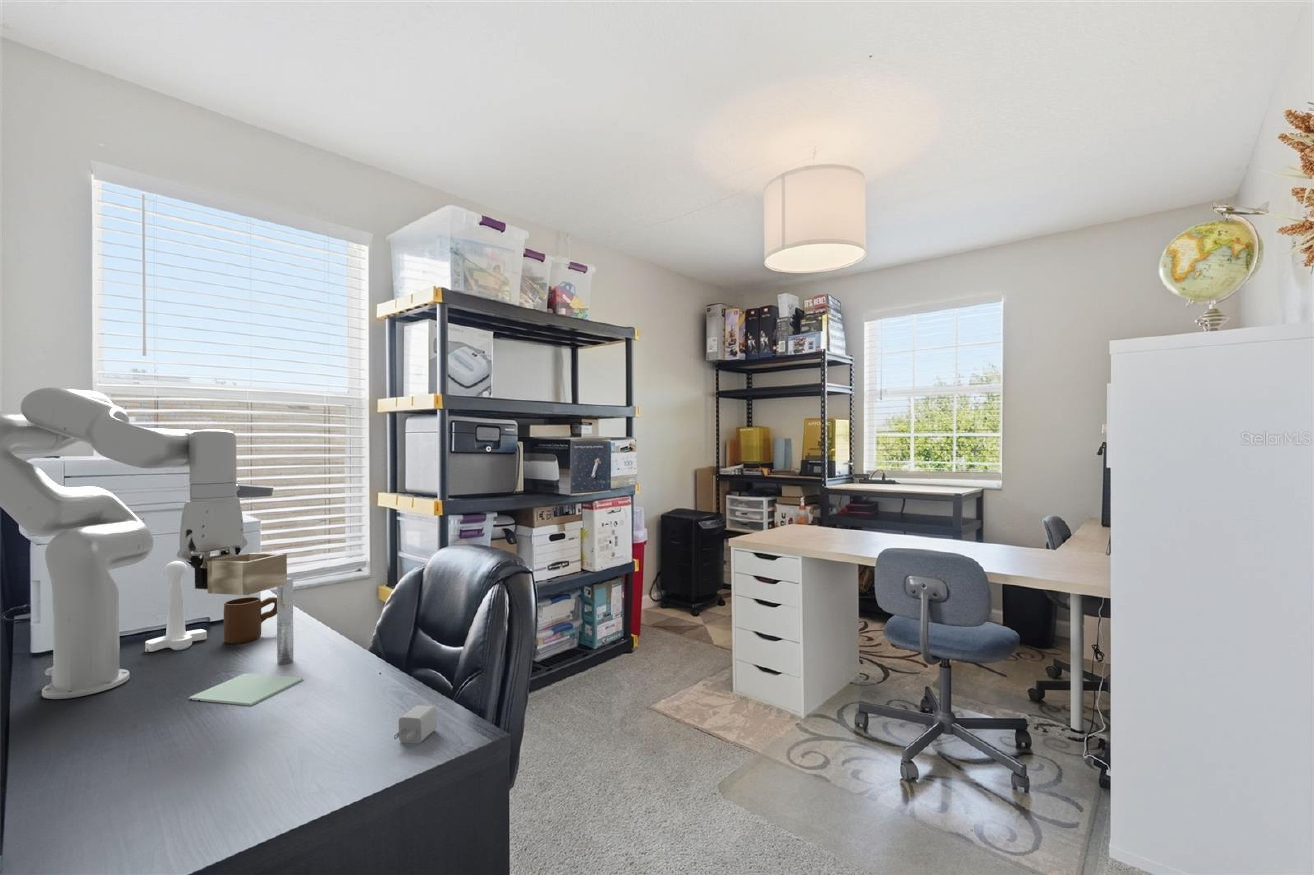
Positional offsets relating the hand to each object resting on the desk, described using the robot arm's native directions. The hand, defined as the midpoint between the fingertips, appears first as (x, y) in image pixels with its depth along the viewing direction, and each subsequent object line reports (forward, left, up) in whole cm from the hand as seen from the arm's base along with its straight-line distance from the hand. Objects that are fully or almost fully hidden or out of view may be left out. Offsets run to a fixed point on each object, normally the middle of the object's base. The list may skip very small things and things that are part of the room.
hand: (214, 584), depth 119 cm
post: (+3, +14, -20) cm, 25 cm away
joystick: (-31, +18, -20) cm, 41 cm away
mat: (+8, 0, -20) cm, 22 cm away
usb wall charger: (+52, -12, -20) cm, 57 cm away
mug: (-19, +27, -20) cm, 39 cm away
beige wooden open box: (+5, 0, -1) cm, 5 cm away
